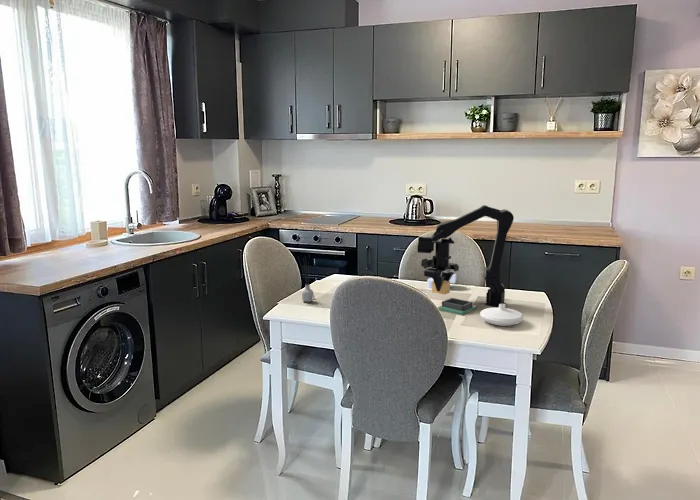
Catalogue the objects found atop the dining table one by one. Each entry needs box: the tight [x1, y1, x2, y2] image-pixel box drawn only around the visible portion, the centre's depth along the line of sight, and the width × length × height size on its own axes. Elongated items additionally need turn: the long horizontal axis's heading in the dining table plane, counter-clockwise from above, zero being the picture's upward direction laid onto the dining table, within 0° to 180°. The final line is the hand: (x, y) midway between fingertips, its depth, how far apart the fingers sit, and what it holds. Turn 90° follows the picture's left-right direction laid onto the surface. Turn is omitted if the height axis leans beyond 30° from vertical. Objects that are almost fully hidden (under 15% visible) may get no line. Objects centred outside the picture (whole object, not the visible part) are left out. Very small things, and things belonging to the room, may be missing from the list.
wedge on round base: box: [426, 273, 457, 290], centre depth 257 cm, size 9×7×13 cm
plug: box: [431, 280, 451, 296], centre depth 232 cm, size 6×4×5 cm, turn 50°
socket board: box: [438, 297, 477, 316], centre depth 223 cm, size 11×12×3 cm
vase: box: [479, 304, 525, 327], centre depth 206 cm, size 16×16×7 cm
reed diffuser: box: [297, 254, 315, 303], centre depth 232 cm, size 10×7×20 cm
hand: (440, 290), depth 232 cm, fingers closed on plug, 4 cm apart
